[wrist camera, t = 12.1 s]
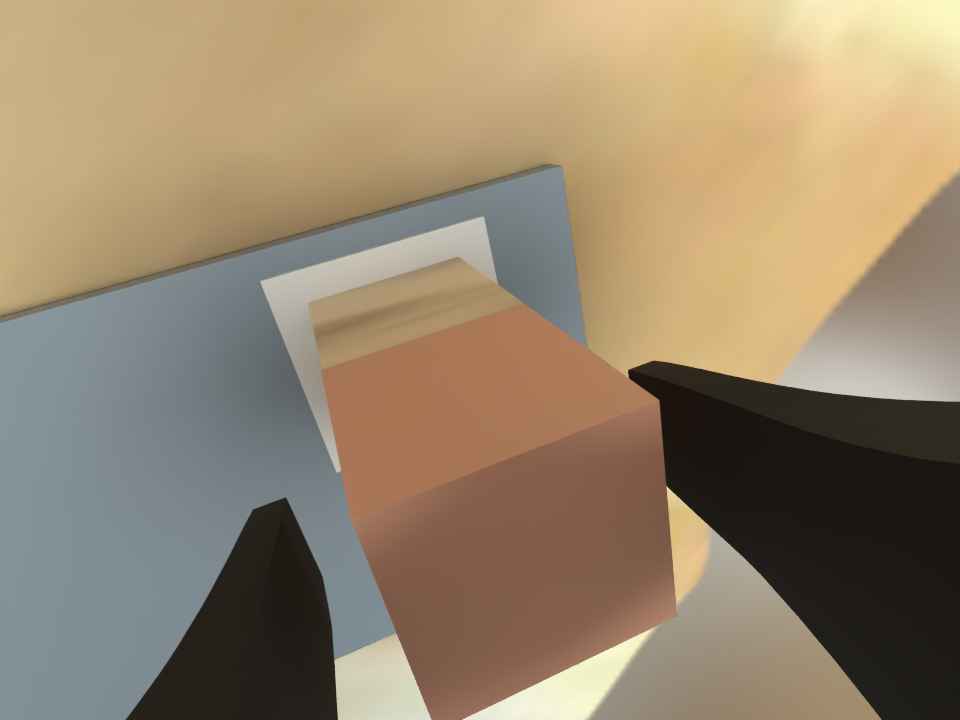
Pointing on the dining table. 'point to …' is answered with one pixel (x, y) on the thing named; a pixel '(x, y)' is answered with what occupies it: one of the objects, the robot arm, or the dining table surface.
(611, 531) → the terracotta block
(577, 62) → the dining table surface
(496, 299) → the maple block
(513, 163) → the dining table surface
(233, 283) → the build board
